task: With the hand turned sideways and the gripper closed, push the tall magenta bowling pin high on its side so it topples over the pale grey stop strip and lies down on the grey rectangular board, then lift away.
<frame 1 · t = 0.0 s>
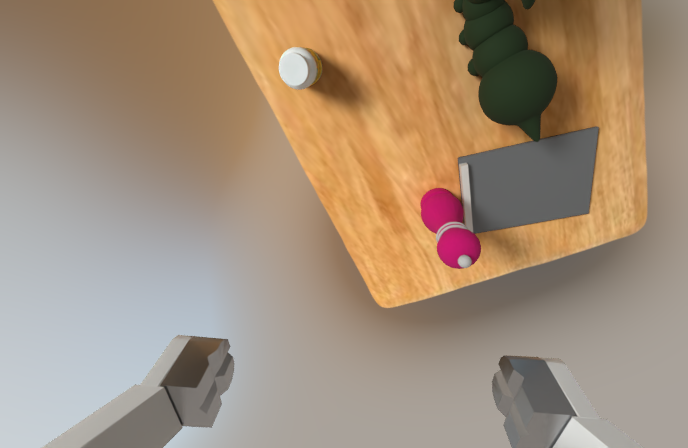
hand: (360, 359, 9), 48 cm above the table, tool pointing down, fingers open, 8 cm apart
grey rectangular board: (497, 190, 56), on the table
supplement bottle: (306, 67, 49), on the table
toy figurine: (487, 53, 46), on the table
magenta bowling pin: (436, 202, 58), on the table
grey stop strip: (466, 199, 56), resting on grey rectangular board
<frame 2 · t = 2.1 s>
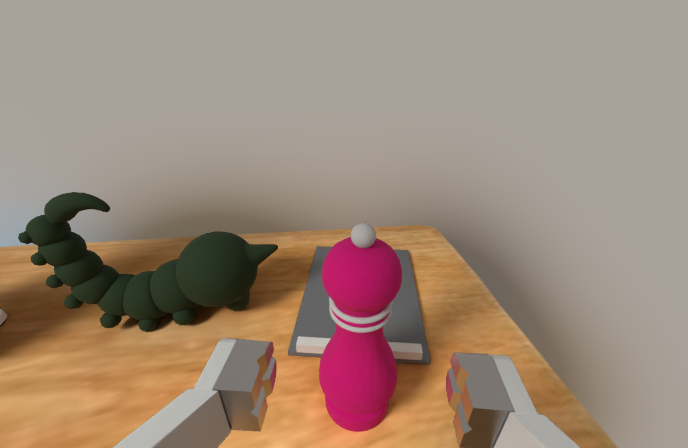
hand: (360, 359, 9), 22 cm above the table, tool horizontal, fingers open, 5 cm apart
grey rectangular board: (359, 316, 40), on the table
toy figurine: (188, 312, 41), on the table
magenta bowling pin: (356, 400, 31), on the table
grey stop strip: (358, 349, 34), resting on grey rectangular board
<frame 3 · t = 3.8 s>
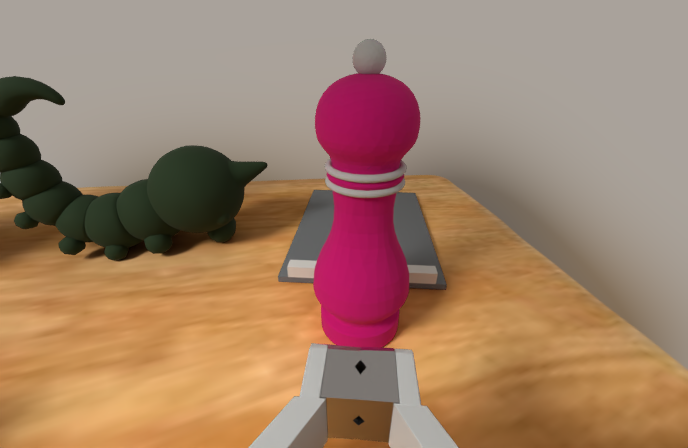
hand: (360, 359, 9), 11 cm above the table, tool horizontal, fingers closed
grey rectangular board: (362, 248, 35), on the table
toy figurine: (165, 245, 36), on the table
magenta bowling pin: (359, 322, 25), on the table
grey stop strip: (361, 274, 29), resting on grey rectangular board
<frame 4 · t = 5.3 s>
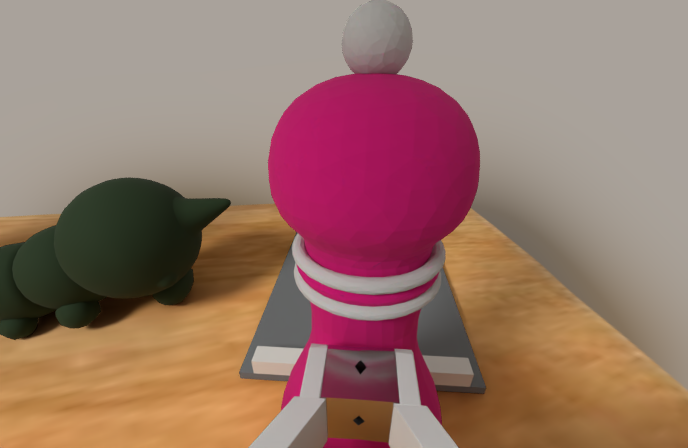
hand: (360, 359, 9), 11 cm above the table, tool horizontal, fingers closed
grey rectangular board: (361, 313, 26), on the table
toy figurine: (97, 307, 27), on the table
grey stop strip: (359, 368, 20), resting on grey rectangular board
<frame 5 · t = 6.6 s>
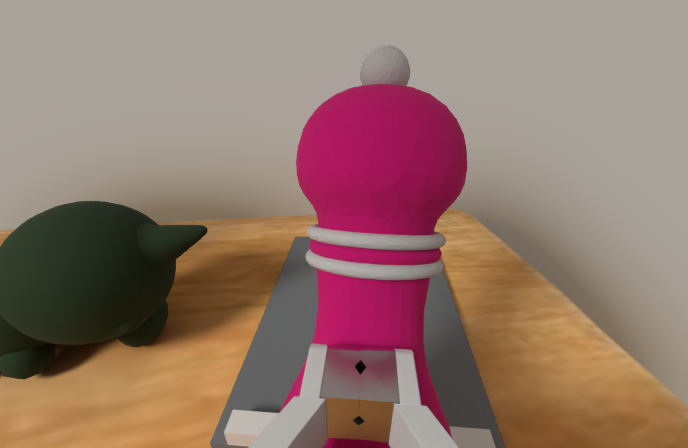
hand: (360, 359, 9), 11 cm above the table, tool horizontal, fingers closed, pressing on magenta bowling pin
grey rectangular board: (359, 357, 22), on the table
toy figurine: (55, 347, 23), on the table
grey stop strip: (357, 440, 16), resting on grey rectangular board
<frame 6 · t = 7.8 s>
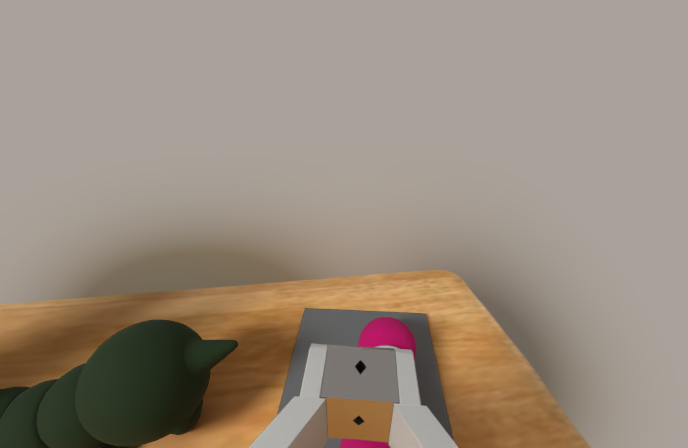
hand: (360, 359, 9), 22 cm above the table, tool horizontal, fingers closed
grey rectangular board: (361, 441, 27), on the table
toy figurine: (112, 432, 28), on the table
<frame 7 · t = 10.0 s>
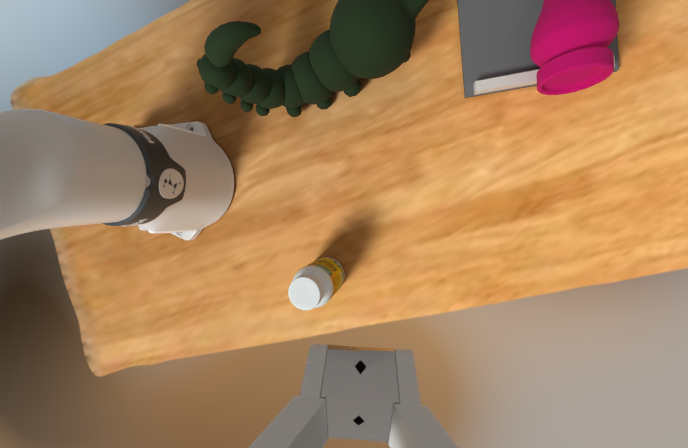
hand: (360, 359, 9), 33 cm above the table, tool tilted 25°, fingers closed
grey rectangular board: (532, 29, 36), on the table
supplement bottle: (328, 274, 45), on the table
toy figurine: (345, 76, 42), on the table
magenta bowling pin: (573, 83, 31), point 5 cm above the table, touching grey rectangular board, grey stop strip
grey stop strip: (538, 77, 35), resting on grey rectangular board
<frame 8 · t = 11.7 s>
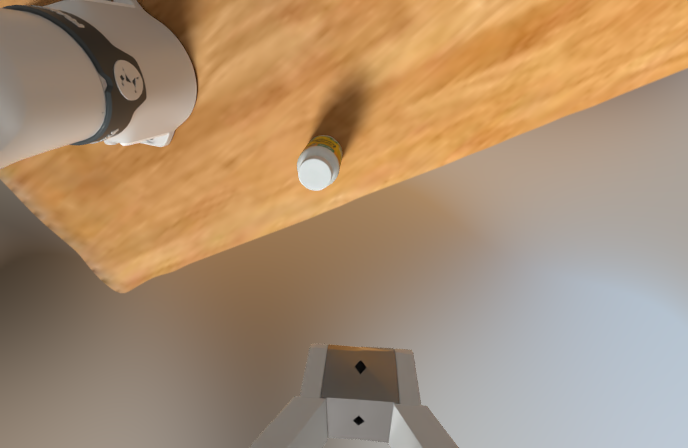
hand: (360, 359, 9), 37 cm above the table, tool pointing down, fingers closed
supplement bottle: (324, 152, 44), on the table
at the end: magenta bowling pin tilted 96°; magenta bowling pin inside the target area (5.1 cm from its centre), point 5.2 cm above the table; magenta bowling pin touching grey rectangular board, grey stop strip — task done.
